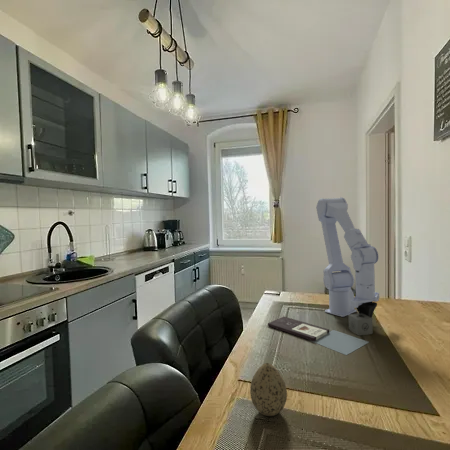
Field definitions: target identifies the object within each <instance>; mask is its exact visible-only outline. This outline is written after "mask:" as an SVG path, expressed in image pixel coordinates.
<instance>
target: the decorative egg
mask: <svg viewBox="0 0 450 450" xmlns="http://www.w3.org/2000/svg"><path fill="white" fill-rule="evenodd" d="M287 394H288V393H287V386H286V383H285V381H284V378H283V376H282V374H281V373H280V371H279V370H278V369H277V368H276V367H275V366H274V365H273V364H271V363H269V362H266V363H263V364H261V366H259V368H257V370H256V371H255V373H254V375H252V379H251V382H250V393H249V395H250V399H251V402H252V405H253V406H254V408H255V409H256V411H258V413H260V414H261V415H263V416H265V417H274V416H276V415H278V414H280V413H281V412H282V411H283V409H284V407H285V406H286V403H287V399H288V398H287V397H288V395H287Z"/></svg>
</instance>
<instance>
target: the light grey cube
mask: <svg viewBox="0 0 450 450" xmlns="http://www.w3.org/2000/svg"><path fill="white" fill-rule="evenodd" d="M347 316H348V330H349V331H351V332H352V333H353V334H355V335H357V336H366V335H372V334H373V333H374V332H373V317H372V318H371V317H369V316H367V315H365V314H363V313H359V312H358V313H351V314H349V315H347Z"/></svg>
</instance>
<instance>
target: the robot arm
mask: <svg viewBox="0 0 450 450" xmlns="http://www.w3.org/2000/svg"><path fill="white" fill-rule="evenodd" d="M348 208H349V204H348V203H347V201H346V199H345V198H344V197H333V198H332V197H331V198H324V197H320V198H319V199H318V201H317V204H316V213H317V219H318V221H319V222H320V223H321V228H322V233H323V240H324V245H325V249H326V256H327V260H328V265H327V266H326V267H325V268H324V269H323V284H324V286H325V288H326V289H327V290H328V302H329V303H328V306H329V307H328V309H325V310H324V313H328V314H331V315H335V316H338V317H341V318H344V317H346V316H348V315H349V314H355V313H356V312H358V313H363V314H365V315H367V316H369V317H371V318H372V319H373V315H374V313H375V310H376V307H378V303H377V302H378V301H380V300H379V299H380V292H376V280H375V279H376V278H375V277H376V276H375V274H376V273H375V264H377V262H378V261H379V252H378V251H377V248H376V247H375V246H372V245H371V244H370V243H369V242H367V240H366V238H365V235H363V233H362V231H361V230H360V229H359V228H356V227H355V226H354V224H353V222H352V219H351V217H350V215H349V212H348ZM336 223H338V224H339V226H340V227H341V228H342V230H343V232H344V234H343V238H344V241H345V242H346V243H347V246H348V247H349V250H350V251H351V253H350V260H351V262H352V267H353V270H354V272H355V273H354V274H355V275H353V272H352V271H351V267H350V266H348V265H347V264H345V263H344V261H343V255H342V251H341V245H340V241H339V234H338V229H337V226H336ZM354 276H355V278H354ZM354 284H355V295H354V292H353V290H352V287H353V286H354Z"/></svg>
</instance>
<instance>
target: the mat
mask: <svg viewBox="0 0 450 450" xmlns="http://www.w3.org/2000/svg"><path fill="white" fill-rule="evenodd" d="M309 342H312V343H315V344H316V345H319V346H321V347H324V348H327V349H329V350H332V351H334V352H337V353H340V354H342V355H344V356H348V355H349V354H351V353H354V352H355V351H357V350H358V349H360V348H362V347H365V345H368V344H369V343H370V341H367V340H364V339H361V338H358V337H355V336H354V335H353V336H352V335H350V334H346V333H344V332H341V331H338V330H335V329H332V330H331V331H330V330H329V333H327V334H326V335H324V336H322V337H321V338H319V339H317V340H315V341H311V340H309Z"/></svg>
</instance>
